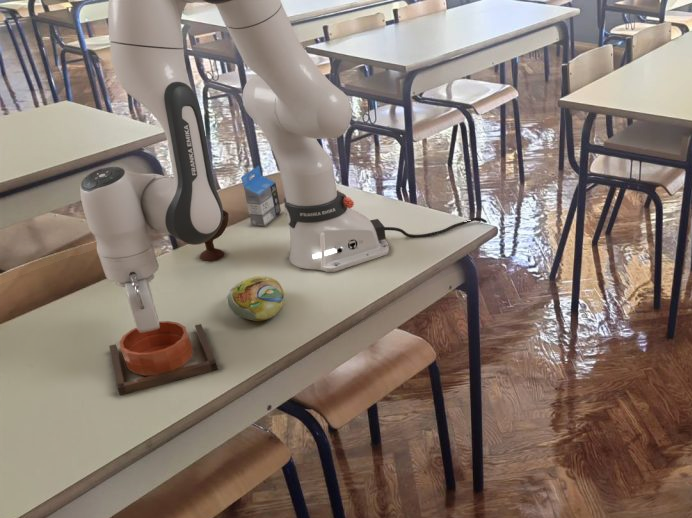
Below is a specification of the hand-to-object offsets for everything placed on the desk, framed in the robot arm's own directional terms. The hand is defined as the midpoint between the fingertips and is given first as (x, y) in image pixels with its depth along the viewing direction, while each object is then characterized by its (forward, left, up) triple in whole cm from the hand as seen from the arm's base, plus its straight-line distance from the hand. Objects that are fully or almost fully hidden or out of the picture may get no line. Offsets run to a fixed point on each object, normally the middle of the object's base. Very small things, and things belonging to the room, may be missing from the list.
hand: (151, 329), depth 142 cm
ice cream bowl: (-17, -33, -3) cm, 37 cm away
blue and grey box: (-33, -48, -3) cm, 58 cm away
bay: (-1, +7, -3) cm, 8 cm away
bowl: (0, +7, -3) cm, 7 cm away
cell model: (-21, -3, -3) cm, 21 cm away
